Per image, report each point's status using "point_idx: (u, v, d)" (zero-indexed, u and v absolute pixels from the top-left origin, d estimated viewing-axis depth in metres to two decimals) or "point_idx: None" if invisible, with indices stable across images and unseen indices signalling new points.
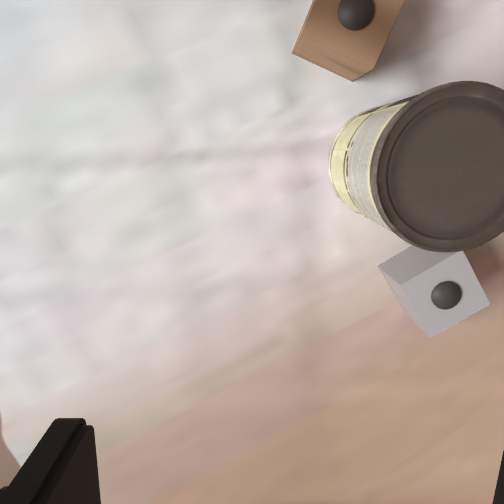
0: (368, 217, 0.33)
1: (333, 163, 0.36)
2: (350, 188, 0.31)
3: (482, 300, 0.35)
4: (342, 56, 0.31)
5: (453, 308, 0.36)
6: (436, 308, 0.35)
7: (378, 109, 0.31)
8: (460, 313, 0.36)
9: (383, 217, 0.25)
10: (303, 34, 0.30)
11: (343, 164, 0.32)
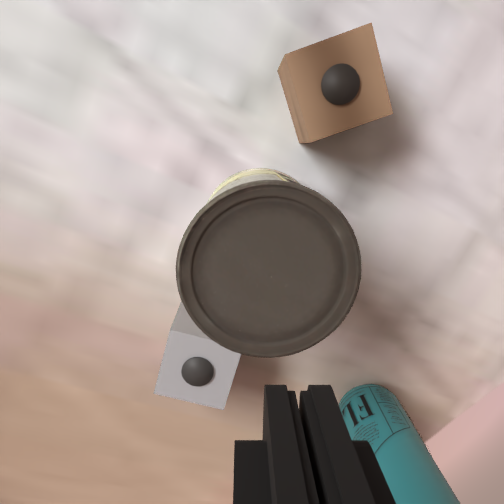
0: None
1: (221, 185, 0.33)
2: None
3: (220, 400, 0.33)
4: (299, 107, 0.28)
5: (193, 387, 0.33)
6: (180, 374, 0.33)
7: (284, 176, 0.29)
8: (194, 396, 0.33)
9: (178, 251, 0.22)
10: (286, 55, 0.27)
11: (218, 189, 0.29)
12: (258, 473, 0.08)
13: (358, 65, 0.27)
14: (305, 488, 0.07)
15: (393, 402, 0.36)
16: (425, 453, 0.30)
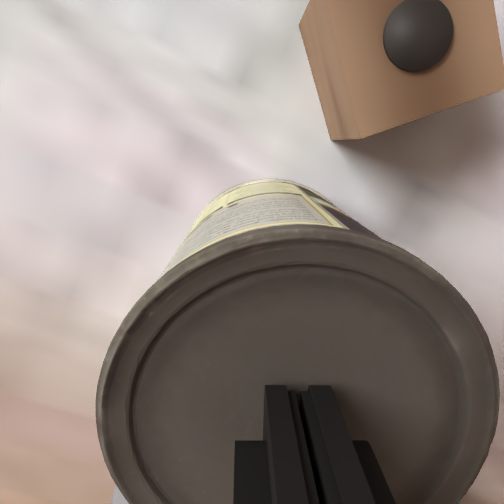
0: None
1: (209, 207, 0.21)
2: None
3: None
4: (341, 77, 0.16)
5: None
6: None
7: (314, 198, 0.17)
8: None
9: (99, 381, 0.10)
10: None
11: (201, 220, 0.17)
12: (258, 472, 0.08)
13: (451, 0, 0.15)
14: (305, 488, 0.07)
15: None
16: None
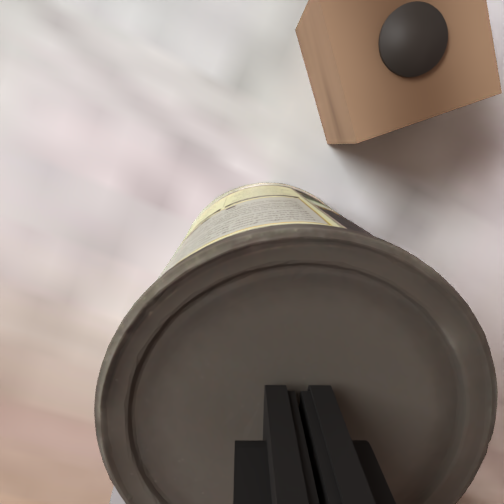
0: None
1: (206, 211, 0.21)
2: None
3: None
4: (337, 82, 0.16)
5: None
6: None
7: (311, 201, 0.17)
8: None
9: (98, 381, 0.10)
10: None
11: (199, 222, 0.17)
12: (258, 472, 0.08)
13: (446, 6, 0.15)
14: (305, 488, 0.07)
15: None
16: None
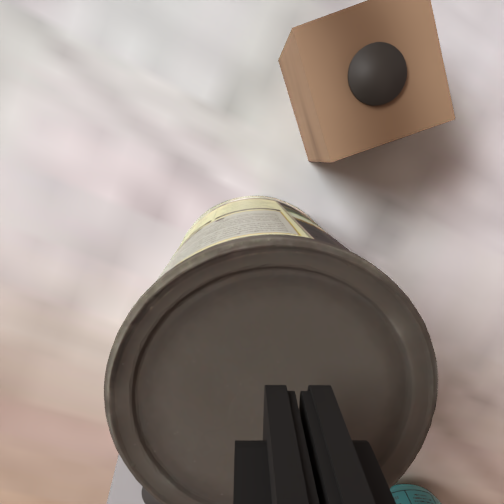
0: None
1: (199, 222, 0.23)
2: None
3: None
4: (313, 110, 0.19)
5: None
6: (140, 496, 0.23)
7: (291, 213, 0.19)
8: None
9: (107, 365, 0.12)
10: (295, 29, 0.17)
11: (192, 233, 0.19)
12: (258, 472, 0.08)
13: (405, 46, 0.18)
14: (305, 488, 0.07)
15: None
16: None
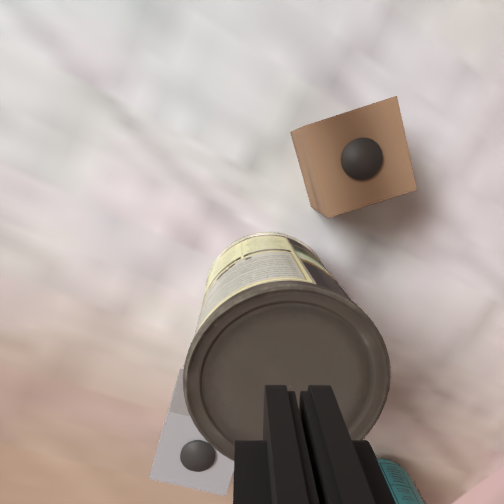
0: None
1: (227, 253, 0.30)
2: (208, 292, 0.26)
3: (221, 486, 0.31)
4: (316, 180, 0.26)
5: (192, 472, 0.30)
6: (179, 458, 0.30)
7: (298, 253, 0.26)
8: (194, 481, 0.30)
9: (186, 359, 0.19)
10: (304, 127, 0.25)
11: (226, 265, 0.27)
12: (258, 472, 0.08)
13: (382, 139, 0.25)
14: (305, 488, 0.07)
15: (406, 483, 0.34)
16: None
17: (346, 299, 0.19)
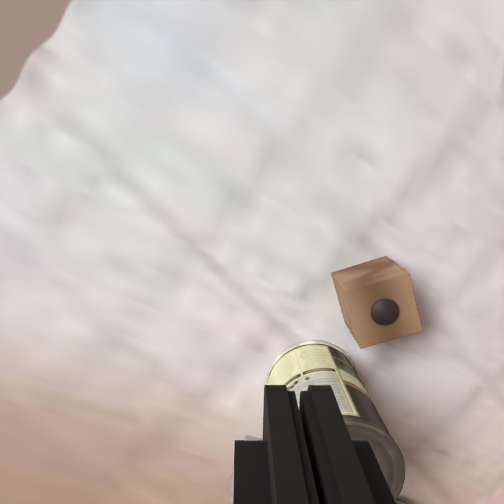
0: None
1: (286, 359, 0.42)
2: None
3: None
4: (353, 323, 0.38)
5: None
6: None
7: (340, 372, 0.38)
8: None
9: None
10: (346, 293, 0.37)
11: (290, 379, 0.39)
12: (258, 473, 0.08)
13: (398, 299, 0.37)
14: (305, 488, 0.07)
15: None
16: None
17: (378, 429, 0.31)
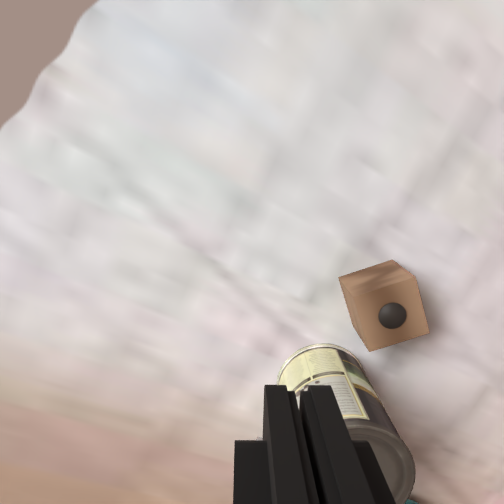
0: None
1: (295, 363, 0.43)
2: None
3: None
4: (361, 327, 0.39)
5: None
6: None
7: (349, 375, 0.39)
8: None
9: None
10: (354, 297, 0.37)
11: (300, 382, 0.40)
12: (258, 472, 0.08)
13: (405, 303, 0.38)
14: (305, 488, 0.07)
15: None
16: None
17: (388, 432, 0.32)
